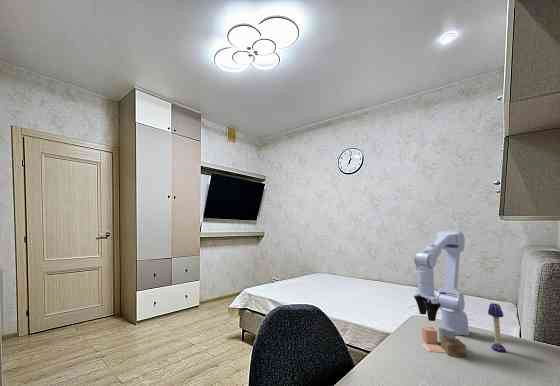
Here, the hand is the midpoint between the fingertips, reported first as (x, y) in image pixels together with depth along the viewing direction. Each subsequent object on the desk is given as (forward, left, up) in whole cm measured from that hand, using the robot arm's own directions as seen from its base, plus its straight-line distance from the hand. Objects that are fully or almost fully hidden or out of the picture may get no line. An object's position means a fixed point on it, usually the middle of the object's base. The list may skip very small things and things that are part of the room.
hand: (427, 317), depth 107 cm
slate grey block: (-8, -2, -10) cm, 12 cm away
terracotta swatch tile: (0, +5, -10) cm, 11 cm away
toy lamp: (-24, +2, -10) cm, 26 cm away
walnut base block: (-6, +7, -10) cm, 13 cm away
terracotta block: (-1, -1, -10) cm, 10 cm away
